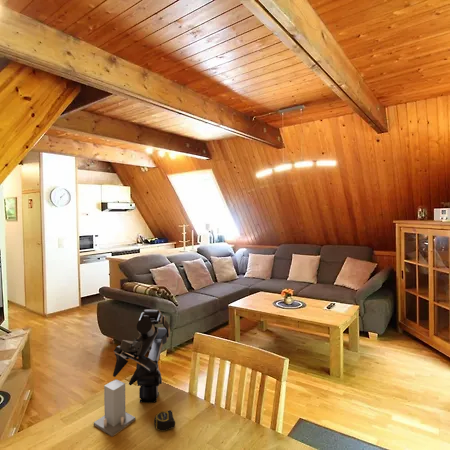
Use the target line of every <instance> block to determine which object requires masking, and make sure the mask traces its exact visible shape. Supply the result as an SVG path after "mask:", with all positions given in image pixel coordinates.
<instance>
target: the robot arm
mask: <svg viewBox="0 0 450 450" xmlns="http://www.w3.org/2000/svg"><path fill="white" fill-rule="evenodd" d="M162 313H163V312H161V310H160V309H144V310H143V311H142V312H141V314H140V317H139V319H138V321H137V324H136V330H137V332H138V333H139V335H138V337H135V338H134V339H133V340H126V339H122V340H121V343H120V345H118V346H116V347H115V348H114V349H113V352H114V355H115V358H116V360H115V366H114V369H113V373H112V377H114V378H116V377H117V376H118V375H119V373H120V372H121V371H122V370H123V369H124V367H125V366H126V365H127V364H128V362H129V361H128V360H129V359H130V360H133V361H135V362H136V367H135V370H134V372H133V374H132V376H131V378H130V379H129V383H128V385H129V386H132V385H133V384H134V383H137V387H139V391H138V392H139V393H138V396H139V403H142V404H143V403H145V404H146V403H148V404H150V403H151V404H152V403H153V404H154V403H157V401H158V397H159V395H160V392H159V386H160V385H162V383H163V381H162V380H163V379H162V374H161V371H160V369H159V368H160V367H159V363H158V362H159V359H160V356H161V353H162V348H163V345H164V344H166V343H167V342H168V339H169V338H170V335H171V331H170V330H171V329H170V324H169V323H168V321H167V320H166V315H164V314H162ZM155 325H163V326H161V327H160V326H159V327H157V326H155ZM148 351H149V352H148ZM147 353H148V356H146V355H147Z"/></svg>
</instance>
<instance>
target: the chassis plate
mask: <svg viewBox="0 0 450 450" xmlns="http://www.w3.org/2000/svg"><path fill="white" fill-rule="evenodd" d="M125 418H126V419H124V417H123V416H121V422H120V423H118V424H117V425H115V426H112V425H110V424H109V423H107V418H105V414H104V415H102V416H101V417H100V418H98V419H96V420H94V422H93V426H94V427H95V428H98V429H99V430H101V431H103V432H104V433H105V434H107V435H109V436H110V437H114V436H116V435H117V434H118V433H119V432H121V431H122V430H124V429H125V428H126V427H128V426H129V425H131V424H132V423H133V422H134V421H136V417H135V416H134V415H132V414H130V413H128V412H126V411H125Z"/></svg>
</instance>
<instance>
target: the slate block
mask: <svg viewBox="0 0 450 450" xmlns="http://www.w3.org/2000/svg"><path fill="white" fill-rule="evenodd" d="M103 393H104V394H103V395H104V400H103V401H104V402H103V403H104V406H103V407H104V415H105V418H107V423H109V424H110V425H112V426H115V425H117V424H118V423H120V422H121V416H123V417H124V419H126V418H125V412H126V383H125V382H123V381H121V380H118V379H114V380H112V381H110V382H108V383H107V384H104V386H103Z"/></svg>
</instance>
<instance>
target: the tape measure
mask: <svg viewBox="0 0 450 450" xmlns="http://www.w3.org/2000/svg"><path fill="white" fill-rule="evenodd" d="M173 413H174V412H173V411H172V410H170V409H169V410H167V411H166V410H164V411H163V410H162V411H160V412H158V413H157V414H156V415H155V416H154V421H153V422H154V427H155V428H156V429H157V430H158V431H161V432H162V431H163V432H164V431H168V430H171V429H174V428H175V427H176V421H175V419H174V414H173Z"/></svg>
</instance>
